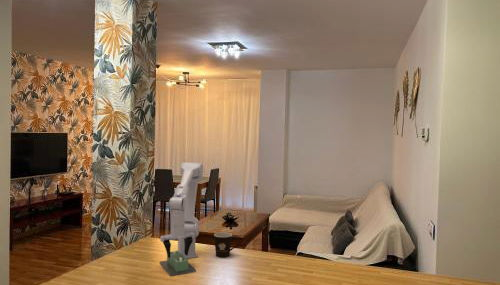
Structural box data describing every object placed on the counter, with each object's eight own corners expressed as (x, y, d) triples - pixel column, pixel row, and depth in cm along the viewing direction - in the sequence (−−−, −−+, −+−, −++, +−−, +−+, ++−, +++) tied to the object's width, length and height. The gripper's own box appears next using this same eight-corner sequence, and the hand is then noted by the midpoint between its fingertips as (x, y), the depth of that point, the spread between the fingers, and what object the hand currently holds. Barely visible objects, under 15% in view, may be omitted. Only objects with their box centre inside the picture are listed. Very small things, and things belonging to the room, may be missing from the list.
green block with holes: (167, 261, 174) (167, 252, 174) (178, 259, 177) (178, 250, 176) (176, 271, 162) (176, 262, 162) (188, 269, 164) (188, 260, 164)
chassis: (159, 263, 174) (159, 251, 174) (183, 260, 179) (183, 248, 179) (170, 276, 160) (170, 262, 159) (195, 271, 165) (196, 258, 165)
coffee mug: (210, 256, 184) (210, 235, 184) (219, 251, 192) (220, 231, 192) (231, 261, 179) (231, 239, 178) (240, 255, 187) (241, 234, 186)
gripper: (163, 228, 162) (163, 261, 162) (197, 225, 168) (196, 256, 169) (159, 224, 168) (158, 256, 168) (191, 221, 175) (191, 251, 175)
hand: (177, 255), depth 169 cm, fingers open, 7 cm apart
